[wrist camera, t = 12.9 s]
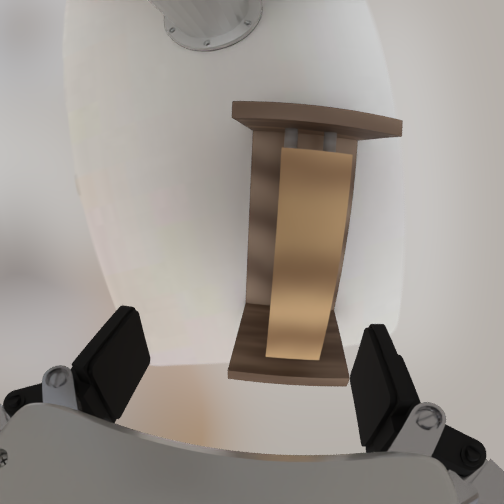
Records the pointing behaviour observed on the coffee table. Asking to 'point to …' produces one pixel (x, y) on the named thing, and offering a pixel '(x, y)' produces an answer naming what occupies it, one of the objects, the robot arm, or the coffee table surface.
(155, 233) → the coffee table surface
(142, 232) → the coffee table surface
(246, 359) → the shelf frame
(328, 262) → the shelf board
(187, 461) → the robot arm
